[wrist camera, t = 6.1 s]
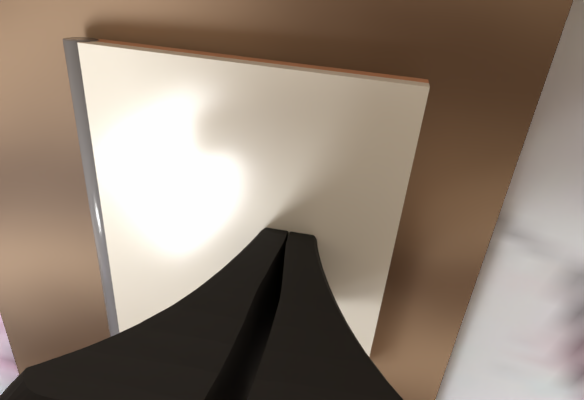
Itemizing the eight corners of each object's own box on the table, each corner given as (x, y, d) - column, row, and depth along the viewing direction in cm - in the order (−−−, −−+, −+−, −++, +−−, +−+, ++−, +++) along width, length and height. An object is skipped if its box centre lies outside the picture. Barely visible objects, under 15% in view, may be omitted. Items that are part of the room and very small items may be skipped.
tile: (106, 348, 15) (120, 331, 15) (356, 413, 13) (359, 391, 14) (54, 39, 10) (77, 35, 11) (430, 86, 9) (428, 79, 9)
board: (412, 424, 18) (416, 452, 16) (41, 362, 19) (23, 385, 18) (587, -117, 9) (617, -130, 8) (-102, -164, 10) (-152, -180, 9)
